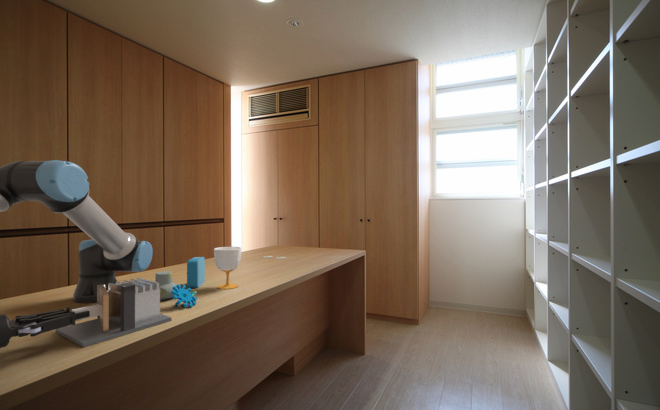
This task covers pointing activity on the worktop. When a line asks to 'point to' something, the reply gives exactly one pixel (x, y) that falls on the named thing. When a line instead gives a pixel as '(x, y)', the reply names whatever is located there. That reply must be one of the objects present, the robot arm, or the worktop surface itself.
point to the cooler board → (110, 322)
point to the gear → (184, 295)
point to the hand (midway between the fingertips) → (99, 309)
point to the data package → (195, 272)
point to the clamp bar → (103, 306)
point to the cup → (227, 262)
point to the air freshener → (165, 284)
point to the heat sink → (136, 300)
